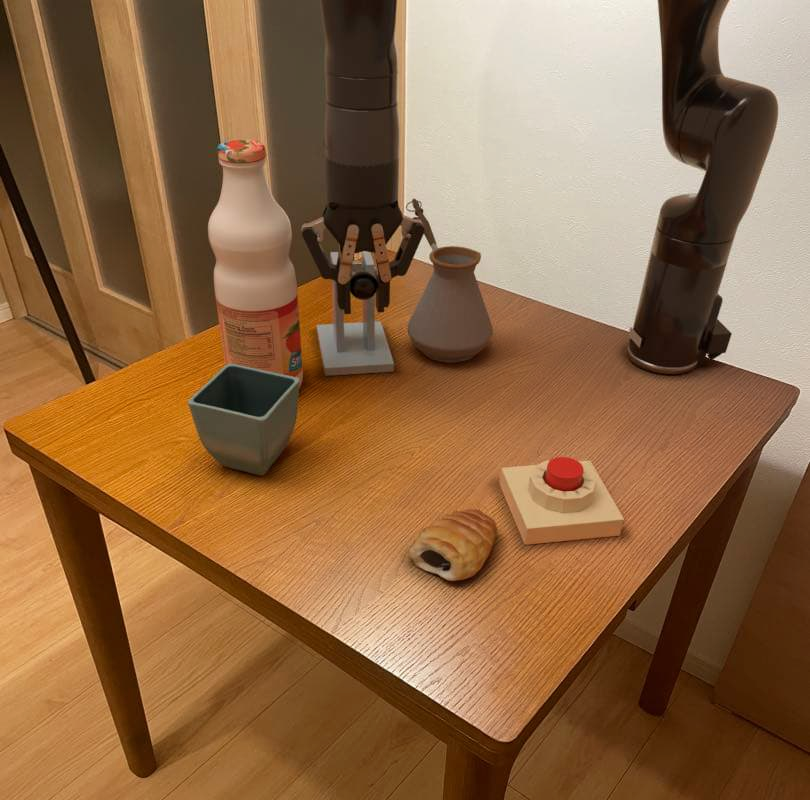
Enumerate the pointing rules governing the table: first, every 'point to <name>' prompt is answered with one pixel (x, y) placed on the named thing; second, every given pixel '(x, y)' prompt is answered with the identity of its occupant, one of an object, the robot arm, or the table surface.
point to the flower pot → (246, 416)
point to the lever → (361, 282)
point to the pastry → (455, 544)
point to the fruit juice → (254, 266)
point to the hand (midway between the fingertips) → (363, 309)
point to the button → (564, 474)
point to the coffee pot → (450, 304)
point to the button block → (559, 506)
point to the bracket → (354, 336)
